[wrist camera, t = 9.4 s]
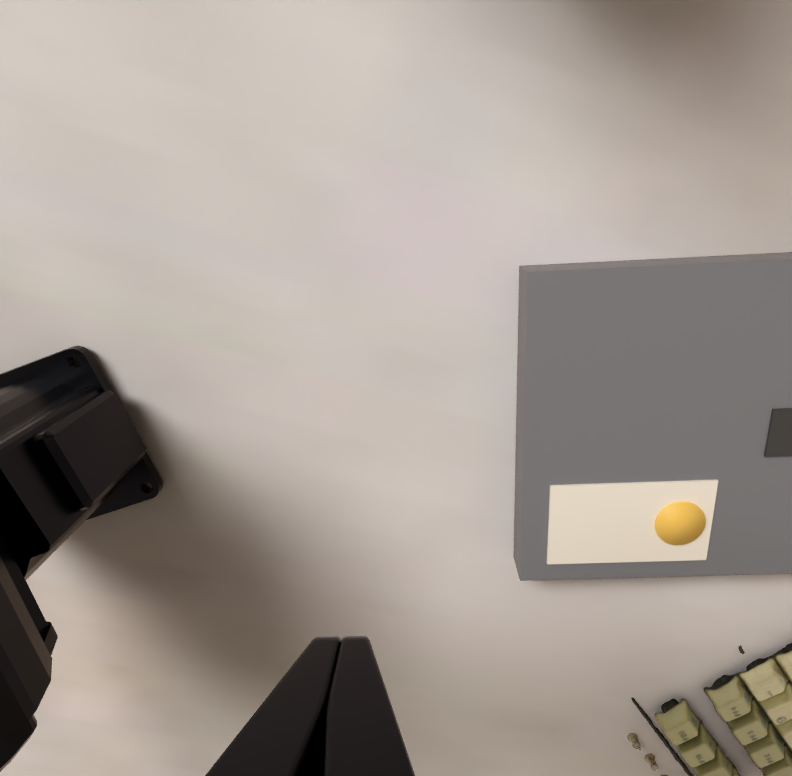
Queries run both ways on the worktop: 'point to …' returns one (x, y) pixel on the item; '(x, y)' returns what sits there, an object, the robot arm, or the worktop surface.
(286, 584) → the worktop surface
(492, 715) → the worktop surface
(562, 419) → the switch panel
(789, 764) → the keyboard
